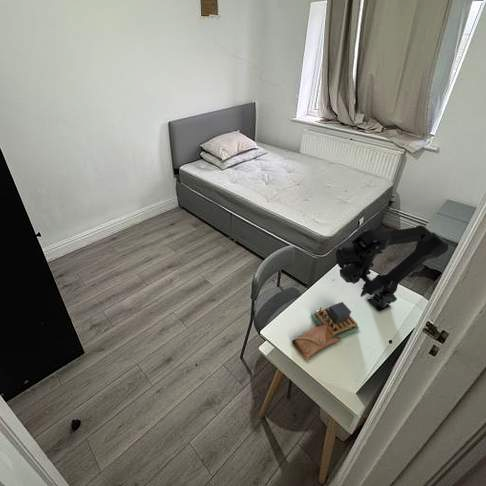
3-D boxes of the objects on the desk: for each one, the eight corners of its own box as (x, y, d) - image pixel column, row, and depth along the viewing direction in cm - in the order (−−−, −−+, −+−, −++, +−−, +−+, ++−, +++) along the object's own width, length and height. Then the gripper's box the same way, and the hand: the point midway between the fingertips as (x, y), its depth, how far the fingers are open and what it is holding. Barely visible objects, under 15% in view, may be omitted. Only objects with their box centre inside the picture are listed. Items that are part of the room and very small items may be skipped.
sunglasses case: (307, 362, 104) (303, 345, 103) (294, 353, 110) (290, 337, 110) (342, 340, 111) (339, 324, 110) (328, 332, 117) (325, 317, 116)
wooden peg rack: (336, 307, 123) (341, 295, 119) (357, 331, 114) (363, 319, 110) (311, 316, 120) (314, 304, 115) (330, 342, 111) (335, 330, 106)
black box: (339, 310, 118) (342, 301, 114) (347, 320, 114) (351, 311, 111) (326, 314, 116) (329, 306, 113) (335, 325, 112) (338, 316, 109)
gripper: (329, 249, 113) (321, 277, 122) (366, 284, 99) (354, 312, 107) (352, 243, 116) (343, 270, 125) (390, 275, 102) (377, 303, 110)
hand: (353, 287), depth 117 cm, fingers open, 9 cm apart
